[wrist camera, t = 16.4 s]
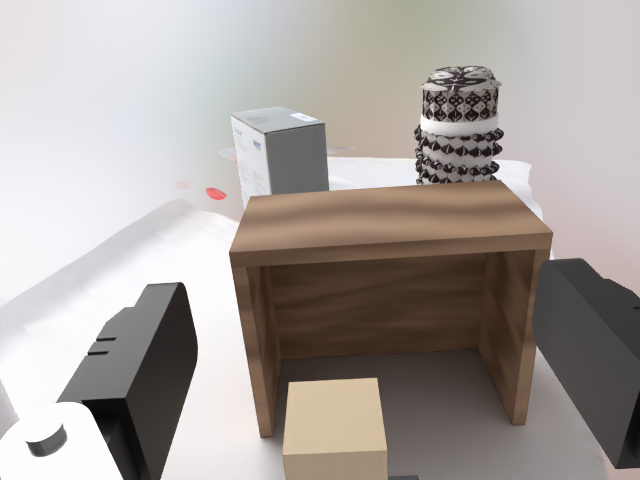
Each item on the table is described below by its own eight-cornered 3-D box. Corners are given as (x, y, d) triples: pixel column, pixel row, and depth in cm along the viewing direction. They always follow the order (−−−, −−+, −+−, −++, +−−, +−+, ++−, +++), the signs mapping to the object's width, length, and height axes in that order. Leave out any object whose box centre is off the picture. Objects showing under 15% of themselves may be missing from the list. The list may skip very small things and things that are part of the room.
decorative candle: (433, 310, 55) (440, 79, 44) (400, 272, 63) (400, 69, 53) (505, 294, 57) (530, 68, 46) (465, 259, 65) (477, 60, 54)
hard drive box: (337, 276, 64) (327, 122, 55) (281, 292, 61) (262, 133, 53) (294, 233, 77) (280, 103, 68) (247, 245, 74) (227, 111, 66)
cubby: (525, 424, 40) (553, 232, 32) (260, 437, 41) (228, 252, 33) (485, 342, 50) (500, 179, 42) (272, 353, 50) (250, 196, 43)
